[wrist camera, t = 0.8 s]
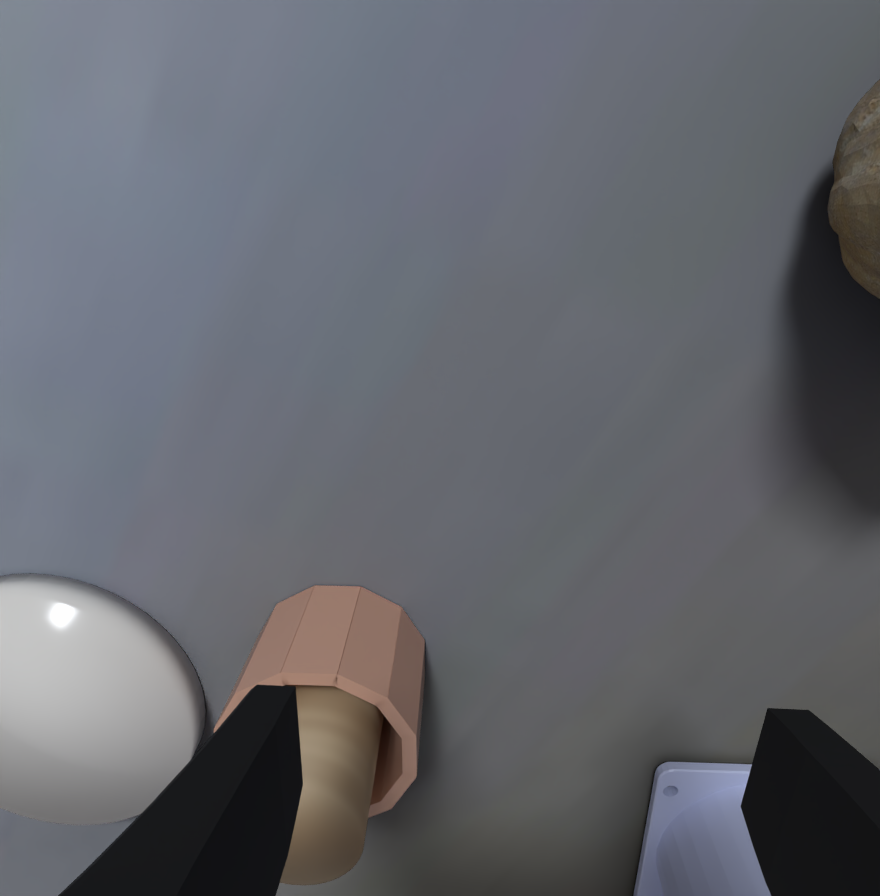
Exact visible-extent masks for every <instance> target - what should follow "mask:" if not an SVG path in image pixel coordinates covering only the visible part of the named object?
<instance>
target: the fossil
mask: <svg viewBox="0 0 880 896" xmlns="http://www.w3.org/2000/svg"><path fill="white" fill-rule="evenodd" d="M833 168H834V184H833V187H832V189H831V191H830V196H829V202H828V208H827V209H828V216H829V223H830V225H831V227H832V229H833V230H834V231H835V232H836V233H837V234H838V235H839V243H840V249H841V255H842V260H843V263H844V265H845V267H846V268H847V270H848V272H849V273H850V275H851V276H852V278H853V279H854V280H855V281H856V282H857V283H859V284H860V285H861V286H862V287H863V288H864V289H866V290H867V291H868V292H869V293H871V294H872V295H874V296H876V297H877V298H879V299H880V80H879V81H877V82H876V83H875V84H874V85H873V87H872V88H871V89H870V90H869V91H868V92H867V93H866V94H865V95H864V96H863V97H862V98H861V99H860V101H859V102H858V103H857V105H856V106H855V108H854V109H853V111H852V112H851V113H850V115H849V116H848V118H847V120H846V122H845V125H844V127H843V129H842V132H841V134H840V137H839V139H838V142H837V146H836V150H835V154H834V158H833Z"/></svg>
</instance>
